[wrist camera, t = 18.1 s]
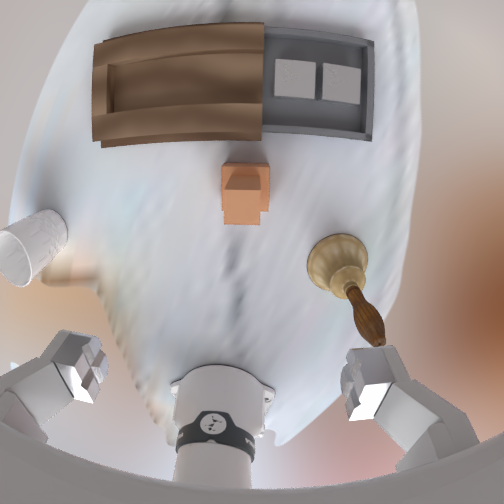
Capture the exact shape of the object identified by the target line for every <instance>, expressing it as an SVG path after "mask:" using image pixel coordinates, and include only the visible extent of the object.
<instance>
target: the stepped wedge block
mask: <svg viewBox="0 0 504 504" xmlns="http://www.w3.org/2000/svg"><path fill="white" fill-rule="evenodd" d="M269 180H270V166H269V164H264V163H224V164H223V165H222V210H224V224H233V225H260V211H268V206H269Z"/></svg>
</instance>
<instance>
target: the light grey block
mask: <svg viewBox="0 0 504 504" xmlns="http://www.w3.org/2000/svg"><path fill="white" fill-rule="evenodd" d="M315 71H316V63H315V62H307V61H298V60H286V59H275V63H274V78H273V98H279V99H293V100H304V101H311V100H313V99H314V97H315Z"/></svg>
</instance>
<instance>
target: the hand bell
mask: <svg viewBox="0 0 504 504" xmlns="http://www.w3.org/2000/svg"><path fill="white" fill-rule="evenodd" d="M367 264H368V255H367V251H366V248H365V247H364V245H363V244H362V243H361V241H359V240H358V239H357V238H355V237H353V236H351V235H348V234H335V235H331V236H329V237H326V238H324V239H323V240H321V241H320V242H319V243H318V244H317V245H316V246H315V247H314V248H313V249H312V251H311V253H310V255H309V258H308V262H307V270H308V274H309V277H310V279H311V280H312V282H313V283H314V284H315V285H316V286H318V287H319V288H321V289H324V290H327V291H331V292H332V293H333V295H335V296H336V297H338V298H340V299H349V301H350V303H351V304H352V306H353V313H354V321H355V324H356V327H357V329H358V331H359V333H360V335H361V336H362V337H363V338H364V339H365V340H366V341H368V342H369V343H370V344H371V345H372V346H373V347H379V346H384V345H385V344H386V338H385V328H384V323H383V320H382V317H381V316H380V314H379V312H378V311H377V310H376V308H375V307H374V306H373V305H371V304H370V303H368V302H367V301H366V300H365V298H364V296H363V294H362V292H361V291H362V290H363V288H364V286H365V282H366V277H365V274H364V273H365V271H366V268H367Z"/></svg>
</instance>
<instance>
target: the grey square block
mask: <svg viewBox="0 0 504 504" xmlns="http://www.w3.org/2000/svg"><path fill="white" fill-rule="evenodd" d="M360 82H361V69H358V68H353V67H347V66H341V65H335V64H329V63H323V64H321V65H320V66H319V67H318V73H317V98H316V101H320V102H328V103H336V104H343V105H349V106H353V105H360Z"/></svg>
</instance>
